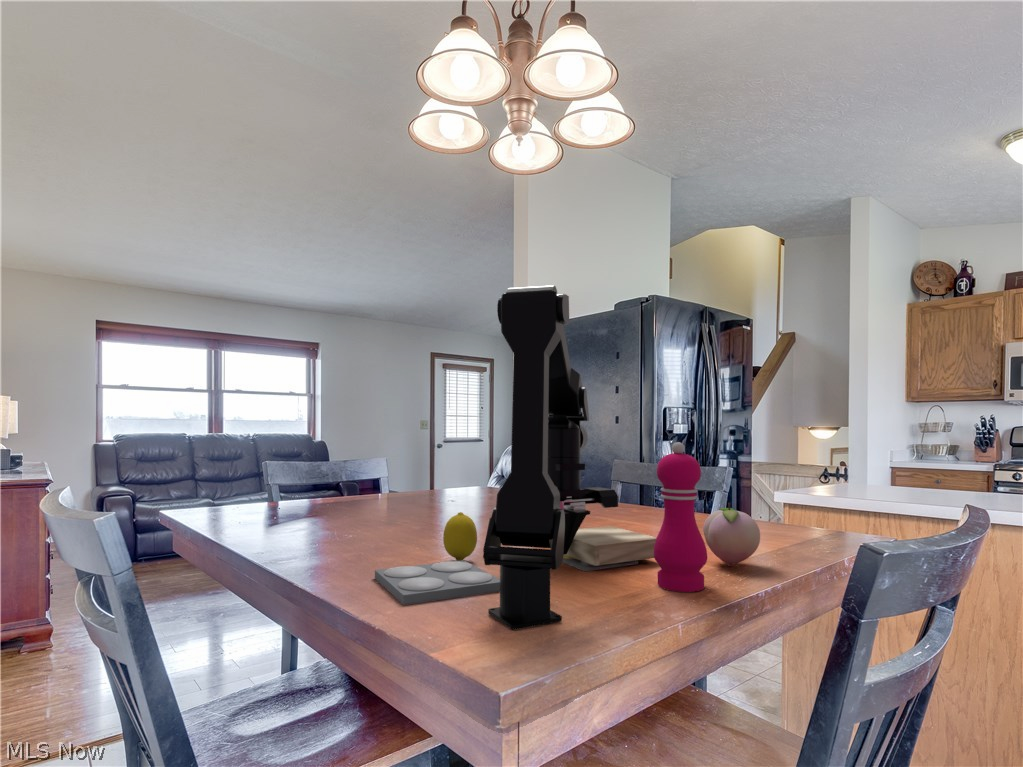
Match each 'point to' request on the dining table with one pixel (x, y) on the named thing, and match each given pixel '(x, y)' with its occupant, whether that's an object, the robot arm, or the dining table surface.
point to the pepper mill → (679, 524)
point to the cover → (610, 546)
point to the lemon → (460, 536)
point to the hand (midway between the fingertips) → (563, 554)
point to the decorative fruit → (731, 535)
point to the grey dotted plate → (589, 567)
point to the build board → (436, 581)
